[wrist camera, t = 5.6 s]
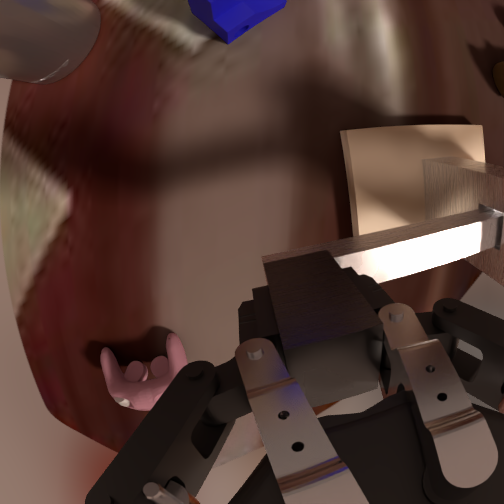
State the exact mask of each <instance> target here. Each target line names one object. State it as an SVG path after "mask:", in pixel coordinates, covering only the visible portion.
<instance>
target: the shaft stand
mask: <svg viewBox="0 0 504 504" xmlns="http://www.w3.org/2000/svg"><path fill="white" fill-rule="evenodd" d="M340 135H341V141H342V147H343V153H344V160H345V167H346V174H347V182H348V190H349V198H350V207H351V217H352V228H353V237H354V236H359V235H363V234H368V233H373V232H377V231H382V230H386V229H391V228H395V227H400V226H404V225H409V224H413V223H418V222H422V221H427V220H431V219H436V218H440V217H445V216H449V215H454V214H458V213H462V212H467V211H471V210H476V209H480V208H484V207H490V208H492V209H495V210H497V211H500V212H502V213H504V167H501V166H497V165H493V164H488V163H485V154H484V141H483V131H482V125H458V124H438V125H406V126H388V127H375V128H363V129H353V130H344V131H340ZM463 259H465V260H466V261H468V262H469V263H471V264H472V265H474V266H475V267H477V268H478V269H480V270H481V271H482V272H484V273H485V274H487V275H488V276H490V277H491V278H493V279H494V280H495V281H497V282H498V283H499V284H501V285H502V286H504V216H503V229H502V238H501V244H500V245H497V246H495V247H492V248H489V249H486V250H483V251H480V252H478V253H475V254H472V255H469V256H466V257H463Z"/></svg>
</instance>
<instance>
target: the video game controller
mask: <svg viewBox="0 0 504 504" xmlns="http://www.w3.org/2000/svg"><path fill="white" fill-rule="evenodd" d="M166 349H167V354H168V358H166V357H164V356H158V357H156V358H155V359H154V360H153V361H152V363H151V371H152V373H153V374H154V376H156V377H157V378H155V379H150V380H146V378H147V375H148V370H147V367H146V366H145V365H144V364H143V363H141V362H139V361H133V362H131V363H130V364H129V365H128V367H127V370H126V372H125V374H123V372H122V371H121V369H120V367H119V365H118V362H117V360H116V358H115V356H114V354H113V352H112V351H111V350H110V348H108V347H105V348H103V349H102V351H101V355H100V360H101V365H102V369H103V373H104V376H105V380H106V383H107V387H108V390H109V393H110V394H111V396H112V397H113V398H114V399H115V401H116V402H118V403H119V404H121V405H122V406H125V407H129V408H132V409H136V410H151V409H152V407H153V406H154V405H155V403H156V402H157V401H158V399H159V398H160V397H161V395H162V394H163V393H164V391H165V390H166V388H167V387H168V386H169V384H170V383H171V382H172V380H173V379H174V378H175V376H176V375H177V374H178V372H179V371H180V370H181V369H182V368H183V367H184V366H185V365H187V364H188V362H187V358H186V354H185V351H184V348H183V345H182V343H181V341H180V339H179V337H178V336H177V335H176V334H175V333H169V334H168V336H167V340H166Z"/></svg>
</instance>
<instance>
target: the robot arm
mask: <svg viewBox="0 0 504 504" xmlns="http://www.w3.org/2000/svg"><path fill="white" fill-rule="evenodd" d="M100 22H101V19H100V12H99V10H98V7H97V6H96V5H95V4H94V3H93V2H92V1H91V0H0V78H6V79H13V80H19V81H25V82H30V83H36V84H49V83H53V82H56V81H58V80H60V79H62V78H64V77H65V76H67V75H68V74H70V73H71V72H72V71H73V70H74V69H75V68H77V67H78V66H79V65H80V63H81V62H82V61H83V60H84V59H85V58H86V56H87V55H88V53H89V52H90V50H91V49H92V47H93V45H94V43H95V41H96V39H97V36H98V33H99V30H100ZM342 269H343V270H344V272H345V273H346V274H347V276H348V277H349V278H350V279H351V281H352V282H353V283H354V285H355V286H356V287H357V289H358V290H359V291H360V292H361V294H362V295H363V296H364V298H365V299H366V300H367V302H368V303H369V304H370V306H371V307H372V308H373V310H374V311H375V312H376V314H377V315H378V316H379V318H380V319H381V321H382V322H383V323H384V328H383V341H382V353H381V362H380V371H379V383H380V387H381V391H382V395H383V399H384V400H382V401H380V402H379V403H377V404H376V405H374V406H373V407H371V408H369V409H367V410H365V411H364V412H361V413H354V414H342V415H328V416H324V417H320V418H317V417H316V415H315V413H314V412H313V410H312V408H311V406H310V404H309V402H308V401H307V399H306V397H305V395H304V393H303V391H302V390H301V388H300V386H299V384H298V382H297V381H296V379H295V378H294V377H293V378H291V377H290V376H289V374H288V372H287V370H286V365H285V360H284V355H283V349H282V344H281V339H280V334H279V330H278V325H277V321H276V317H275V312H274V308H273V304H272V300H271V295H270V291H269V287H268V285H267V286H263V287H258V288H253V289H252V291H253V299H254V300H250V301H245V302H242V304H241V306H240V307H239V309H238V316H239V341H240V345H239V346H238V347H237V349H236V351H235V357H234V358H232V359H231V360H230V361H228V362H226V363H224V364H221V365H219V366H216V367H214V365H213V364H212V363H210V362H208V361H195V362H191V363H189V364H187V365H185V366H184V367H183V368H182V369H181V370H180V371H179V372H178V374H177V375H176V376H175V378H174V379H173V380H172V382H171V383H170V384H169V386H168V387H167V388H166V390H165V391H164V393H163V394H162V395H161V397H160V398H159V399H158V401H157V402H156V403H155V405H154V406H153V407H152V409H151V410H150V411H149V413H148V414H147V415H146V417H145V418H144V420H143V421H142V422H141V424H140V425H139V426H138V428H137V429H136V430H135V432H134V433H133V434H132V436H131V437H130V438H129V440H128V441H127V442H126V444H125V445H124V446H123V448H122V449H121V450H120V452H119V453H118V454H117V456H116V457H115V458H114V460H113V461H112V462H111V464H110V465H109V466H108V467H107V469H106V470H105V471H104V473H103V474H102V475H101V477H100V478H99V479H98V481H97V482H96V483H95V485H94V486H93V487H92V489H91V490H90V491H89V493H88V494H87V496H86V499H85V504H200V502H199V501H198V499H197V498H195V497H196V495H197V494H198V492H199V490H200V488H201V486H202V485H203V482H204V481H205V479H206V477H207V475H208V474H209V472H210V470H211V468H212V466H213V464H214V462H215V461H216V459H217V457H218V455H219V453H220V451H221V449H222V447H223V445H224V443H225V441H226V439H227V437H228V435H229V434H230V432H231V430H232V428H233V426H234V424H235V421H236V419H237V418H239V417H241V416H244V415H246V414H248V413H250V412H253V415H254V418H255V421H256V424H257V427H258V429H259V432H260V435H261V438H262V441H263V444H264V447H265V449H266V452H267V454H266V455H265V456H264V457H263V459H262V460H261V462H260V463H259V464H258V466H257V467H256V468H255V470H254V471H253V472H252V474H251V475H250V476H249V478H248V479H247V480H246V482H245V483H244V484H243V486H242V487H241V488H240V489H239V491H238V492H237V493H236V494H235V496H234V497H233V498H232V499H231V501H230V502H229V503H228V504H504V320H502V319H500V318H498V317H496V316H493V315H491V314H489V313H486V312H484V311H482V310H479V309H477V308H475V307H473V306H470V305H468V304H466V303H463V302H461V301H459V300H456V299H452V298H444V299H440V300H438V301H437V302H436V303H435V304H434V306H433V312H424V313H414V311H413V310H412V309H411V308H410V307H409V306H407V305H404V304H400V303H395V302H394V301H393V300H392V299H391V298H390V297H389V296H388V294H387V293H386V292H385V291H384V290H382V288H381V287H380V285H378V283H377V282H376V281H375V280H374V279H373V278H372V277H370V276H367V275H365V274H362V275H358V274H357V272H356V271H355V270H354V269H353V268H352V267H351V266H350V267H346V268H342ZM459 339H461V340H463V341H465V342H467V343H469V344H471V345H473V346H474V347H476V348H478V349H480V350H481V352H482V354H483V360H482V361H481V360H479V359H477V358H475V357H474V356H472V355H470V354H468V353H466V352H464V351H462V350H460V349H458V348H457V346H458V343H459ZM466 392H467V393H469V394H471V395H472V396H474V397H476V398H477V399H480V400H481V401H483V402H484V403H486V404H488V405H489V406H491V407H493V408H495V409H496V410H498V411H499V412H497V411H494V410H491V409H488V408H485V407H482V406H479V405H476V404H473V403H471V402H470V399H469V397H468V395H467V393H466Z"/></svg>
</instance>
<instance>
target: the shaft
mask: <svg viewBox="0 0 504 504" xmlns="http://www.w3.org/2000/svg"><path fill="white" fill-rule="evenodd" d="M503 216H504V213H502V212H500V211H497V210H495V209H492V208H490V207H484V208H480V209H476V210H471V211H467V212H462V213H458V214H454V215H449V216H445V217H440V218H436V219H431V220H427V221H422V222H418V223H413V224H409V225H404V226H400V227H395V228H391V229H386V230H382V231H377V232H373V233H368V234H363V235H359V236H354V237H350V238H345V239H341V240H336V241H331V242H327V243H322V244H318V245H313V246H308V247H304V248H299V249H294V250H290V251H285V252H280V253H276V254H271V255H266V256H262V257H261V258H262V262H263V267H264V272H265V277H266V282H267V285H268V287H269V291H270V295H271V300H272V304H273V308H274V312H275V317H276V321H277V325H278V330H279V334H280V339H281V344H282V349H283V355H284V360H285V365H286V370H287V372H288V374H289V376H290V377H291V378H293V377H294V378H295V379H296V381H297V382H298V384H299V386H300V388H301V390H302V391H303V393H304V395H305V397H306V399H307V401H308V402H309V404H310V406H311V408H312V407H316V406H320V405H324V404H327V403H331V402H335V401H338V400H342V399H345V398H349V397H352V396H356V395H359V394H362V393H365V392H368V391H371V390H374V389H377V387H378V380H379V371H380V362H381V353H382V341H383V328H384V323H383V322H382V321H381V319H380V318H379V316H378V315H377V314H376V312H375V311H374V310H373V308H372V307H371V306H370V304H369V303H368V302H367V300H366V299H365V298H364V296H363V295H362V294H361V292H360V291H359V290H358V289H357V287H356V286H355V285H354V283H353V282H352V281H351V279H350V278H349V277H348V276H347V274H346V273H345V272H344V270H343V269H342V268H346V267H350V266H351V267H352V268H353V269H354V270H355V271H356V272H357V274H358V275H362V274H365V275H367V276H370V277H372V278H373V279H374V280H375V281H376V282H377V283H381V282H384V281H388V280H391V279H395V278H398V277H402V276H405V275H409V274H412V273H415V272H419V271H422V270H425V269H429V268H432V267H435V266H438V265H441V264H445V263H448V262H451V261H454V260H457V259H460V258H463V257H466V256H469V255H472V254H475V253H478V252H480V251H483V250H486V249H489V248H492V247H495V246H497V245H500V244H501V238H502V229H503Z"/></svg>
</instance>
